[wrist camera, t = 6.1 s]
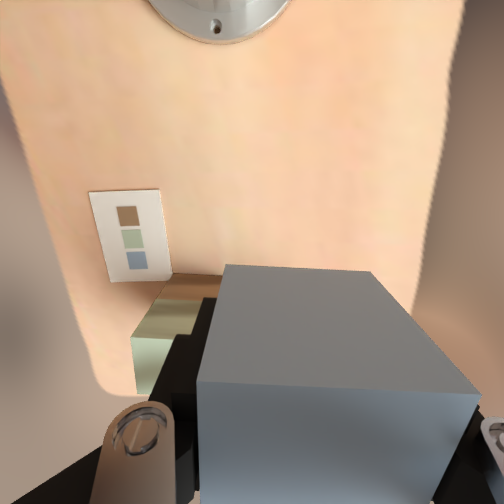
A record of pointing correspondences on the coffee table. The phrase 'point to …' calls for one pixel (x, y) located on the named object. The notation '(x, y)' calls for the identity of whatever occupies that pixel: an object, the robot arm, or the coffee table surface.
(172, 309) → the tower base
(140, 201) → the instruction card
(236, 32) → the robot arm
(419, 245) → the coffee table surface
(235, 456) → the blue brick
